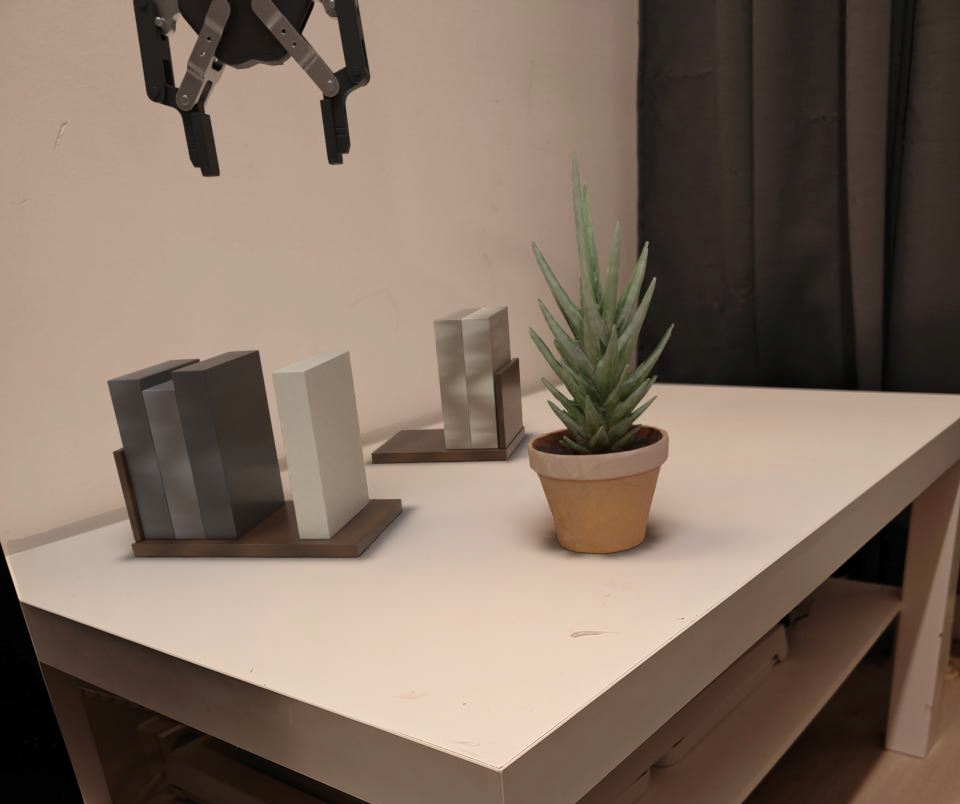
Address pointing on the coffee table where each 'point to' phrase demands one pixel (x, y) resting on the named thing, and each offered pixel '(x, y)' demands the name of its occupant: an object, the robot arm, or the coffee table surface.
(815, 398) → the coffee table surface
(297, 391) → the ivory book
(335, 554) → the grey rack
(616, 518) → the potted plant
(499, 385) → the ivory shelf
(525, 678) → the coffee table surface
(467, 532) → the coffee table surface
